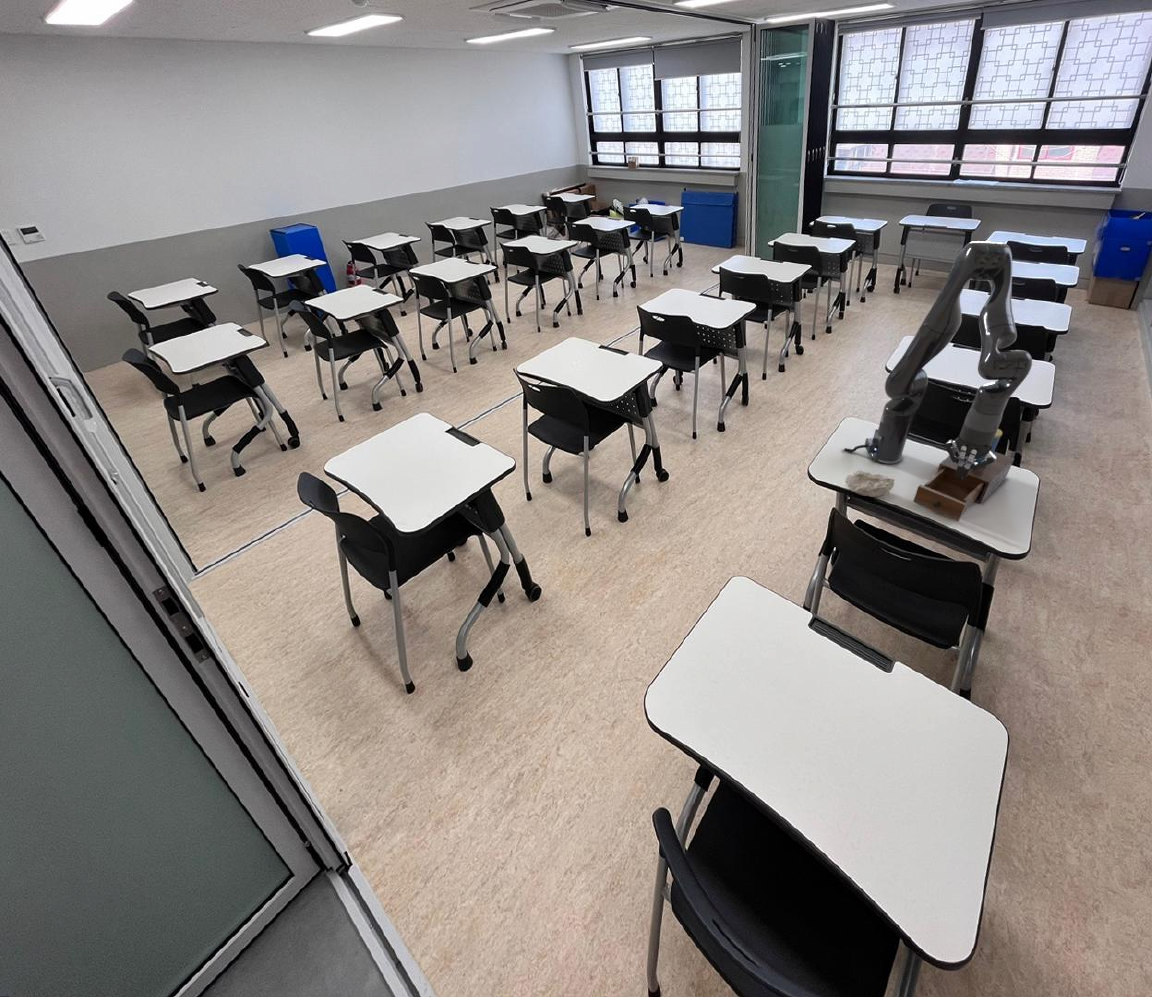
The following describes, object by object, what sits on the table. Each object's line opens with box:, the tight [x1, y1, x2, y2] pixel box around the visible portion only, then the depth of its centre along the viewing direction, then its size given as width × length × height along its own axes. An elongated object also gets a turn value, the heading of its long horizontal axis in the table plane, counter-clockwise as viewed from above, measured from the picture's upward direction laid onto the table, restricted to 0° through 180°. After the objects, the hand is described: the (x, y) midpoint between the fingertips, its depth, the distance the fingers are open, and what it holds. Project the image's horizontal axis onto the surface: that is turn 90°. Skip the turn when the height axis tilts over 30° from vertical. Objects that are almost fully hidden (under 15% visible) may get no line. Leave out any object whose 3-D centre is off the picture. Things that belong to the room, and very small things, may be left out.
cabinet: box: [935, 448, 1015, 504], centre depth 184 cm, size 18×15×8 cm
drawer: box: [913, 468, 986, 522], centre depth 177 cm, size 18×13×6 cm
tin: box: [976, 428, 1003, 462], centre depth 179 cm, size 6×6×10 cm
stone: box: [844, 469, 896, 498], centre depth 185 cm, size 8×12×10 cm
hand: (960, 477), depth 160 cm, fingers closed
